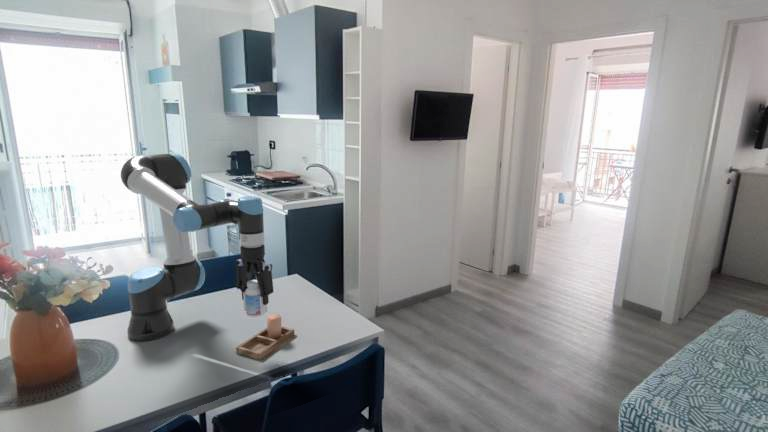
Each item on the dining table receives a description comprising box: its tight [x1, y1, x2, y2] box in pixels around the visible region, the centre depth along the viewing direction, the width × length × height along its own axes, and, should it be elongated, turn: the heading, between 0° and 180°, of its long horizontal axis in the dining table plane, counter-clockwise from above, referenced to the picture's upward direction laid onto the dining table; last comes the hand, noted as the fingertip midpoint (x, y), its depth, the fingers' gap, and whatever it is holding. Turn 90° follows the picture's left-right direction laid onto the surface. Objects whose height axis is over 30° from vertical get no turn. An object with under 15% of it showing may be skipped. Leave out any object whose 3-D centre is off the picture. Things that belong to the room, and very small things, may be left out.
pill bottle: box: [245, 279, 262, 318], centre depth 144 cm, size 6×6×11 cm
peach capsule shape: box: [266, 313, 283, 340], centre depth 155 cm, size 5×5×8 cm
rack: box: [234, 325, 297, 361], centre depth 152 cm, size 12×19×3 cm, turn 156°
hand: (255, 310), depth 145 cm, fingers closed on pill bottle, 6 cm apart
